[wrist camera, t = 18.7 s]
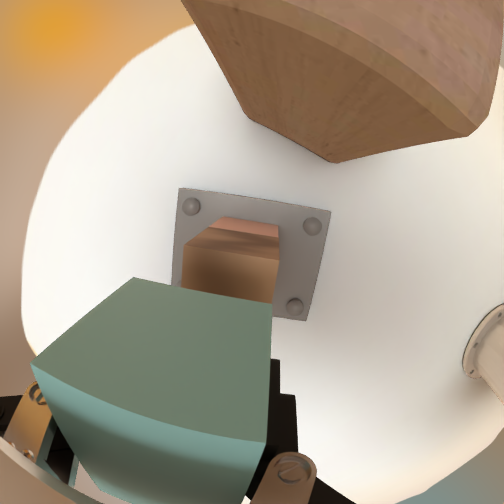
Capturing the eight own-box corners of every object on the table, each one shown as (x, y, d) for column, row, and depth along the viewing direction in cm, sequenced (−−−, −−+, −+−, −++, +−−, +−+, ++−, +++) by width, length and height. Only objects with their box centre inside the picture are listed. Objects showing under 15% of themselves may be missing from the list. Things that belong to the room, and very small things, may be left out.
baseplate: (329, 211, 25) (345, 221, 18) (305, 316, 28) (311, 352, 21) (182, 188, 25) (153, 191, 19) (174, 292, 28) (149, 321, 22)
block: (290, 38, 20) (298, -122, 1) (379, 87, 21) (510, -12, 2) (241, 116, 23) (148, -23, 4) (336, 168, 24) (492, 149, 4)
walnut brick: (278, 237, 19) (279, 260, 14) (263, 324, 21) (258, 368, 16) (208, 226, 19) (183, 244, 14) (201, 313, 21) (179, 353, 16)
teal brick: (272, 303, 9) (266, 442, 4) (244, 429, 11) (229, 528, 6) (133, 277, 9) (29, 362, 4) (144, 405, 11) (100, 490, 6)
